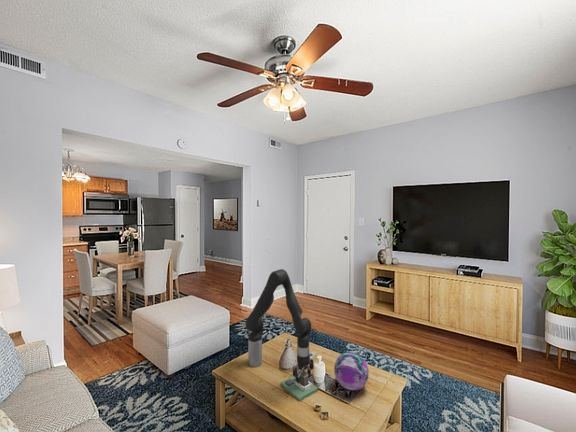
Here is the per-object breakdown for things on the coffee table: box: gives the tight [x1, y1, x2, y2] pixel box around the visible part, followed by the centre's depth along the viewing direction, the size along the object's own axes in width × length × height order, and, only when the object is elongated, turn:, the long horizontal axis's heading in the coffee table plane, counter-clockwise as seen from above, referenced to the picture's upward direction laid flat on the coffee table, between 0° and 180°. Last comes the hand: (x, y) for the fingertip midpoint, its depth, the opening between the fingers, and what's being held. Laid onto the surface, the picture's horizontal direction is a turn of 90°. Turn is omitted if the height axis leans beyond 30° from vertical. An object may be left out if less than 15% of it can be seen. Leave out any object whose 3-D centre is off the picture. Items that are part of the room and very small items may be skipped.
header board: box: [279, 375, 319, 402], centre depth 162 cm, size 18×14×4 cm
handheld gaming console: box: [310, 351, 317, 359], centre depth 195 cm, size 10×2×15 cm
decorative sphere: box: [333, 351, 370, 391], centre depth 162 cm, size 20×20×20 cm
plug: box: [298, 370, 309, 387], centre depth 161 cm, size 5×4×8 cm
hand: (303, 379), depth 161 cm, fingers open, 8 cm apart
